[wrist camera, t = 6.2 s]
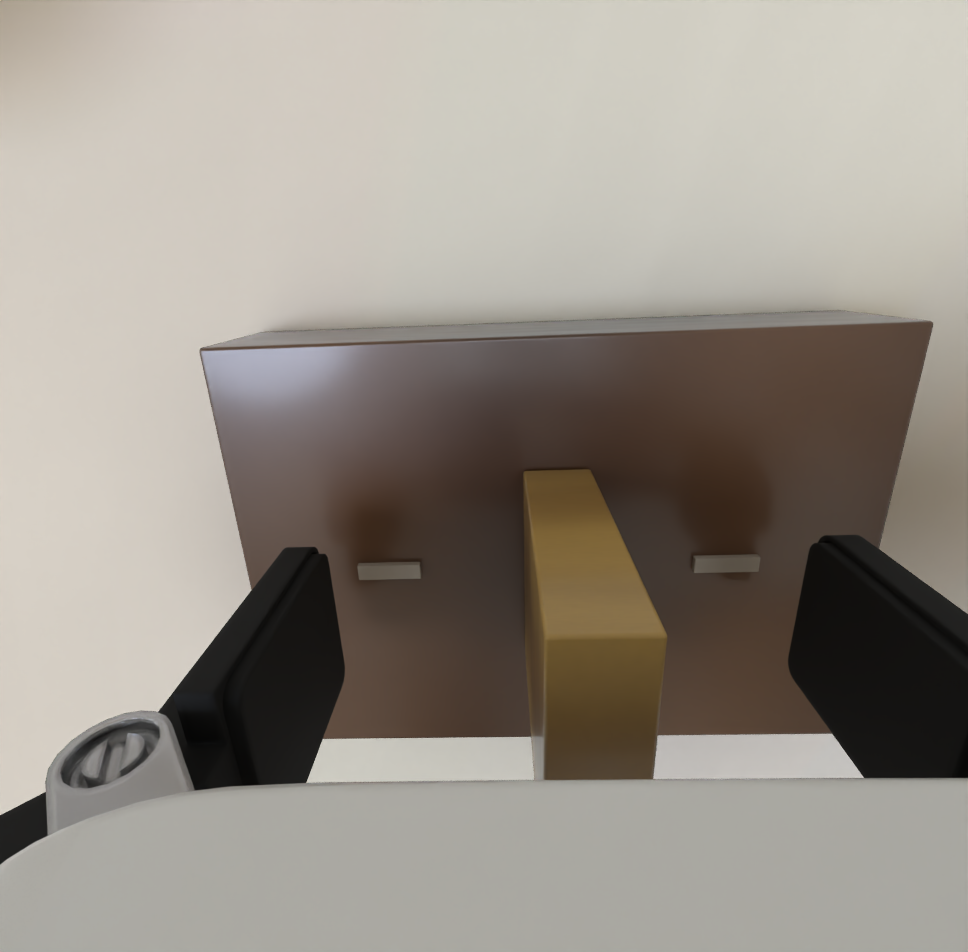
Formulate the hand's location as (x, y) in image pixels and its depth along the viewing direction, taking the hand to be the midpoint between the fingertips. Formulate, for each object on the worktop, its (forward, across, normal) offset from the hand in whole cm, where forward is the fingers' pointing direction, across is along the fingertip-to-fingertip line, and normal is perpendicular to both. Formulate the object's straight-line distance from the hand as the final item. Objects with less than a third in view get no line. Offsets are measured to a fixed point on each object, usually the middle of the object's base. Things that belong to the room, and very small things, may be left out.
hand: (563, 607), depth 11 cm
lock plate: (+5, 0, 0) cm, 5 cm away
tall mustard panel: (+2, 0, 0) cm, 2 cm away
